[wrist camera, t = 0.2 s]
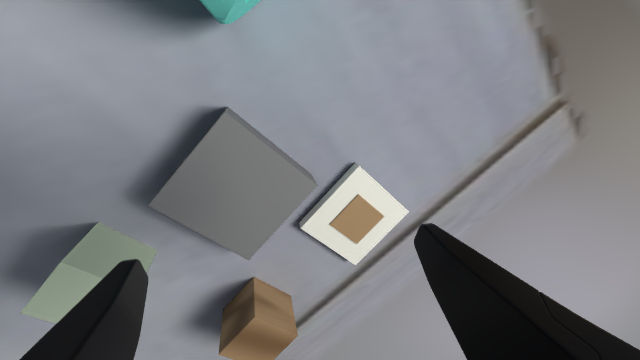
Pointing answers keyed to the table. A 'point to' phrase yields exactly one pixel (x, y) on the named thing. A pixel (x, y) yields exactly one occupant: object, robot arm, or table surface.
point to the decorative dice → (228, 9)
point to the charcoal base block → (234, 187)
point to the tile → (353, 215)
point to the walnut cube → (257, 323)
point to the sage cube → (85, 271)
